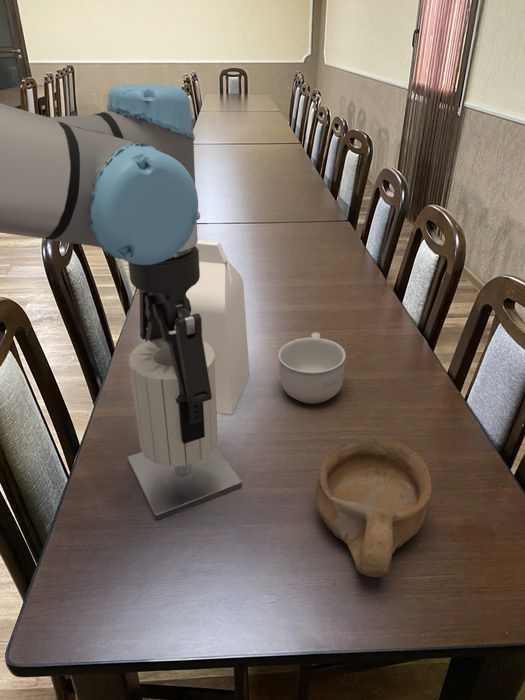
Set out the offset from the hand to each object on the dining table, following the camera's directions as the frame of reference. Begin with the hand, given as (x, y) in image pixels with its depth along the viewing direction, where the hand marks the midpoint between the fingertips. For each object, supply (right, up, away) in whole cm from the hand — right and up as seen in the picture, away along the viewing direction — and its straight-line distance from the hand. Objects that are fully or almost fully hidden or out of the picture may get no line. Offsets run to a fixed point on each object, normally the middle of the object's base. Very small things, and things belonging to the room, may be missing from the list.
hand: (177, 414), depth 68 cm
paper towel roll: (0, -4, +2) cm, 4 cm away
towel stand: (0, -9, +6) cm, 10 cm away
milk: (+1, +1, +23) cm, 23 cm away
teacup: (+19, +2, +24) cm, 30 cm away
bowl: (+24, -14, -3) cm, 28 cm away
